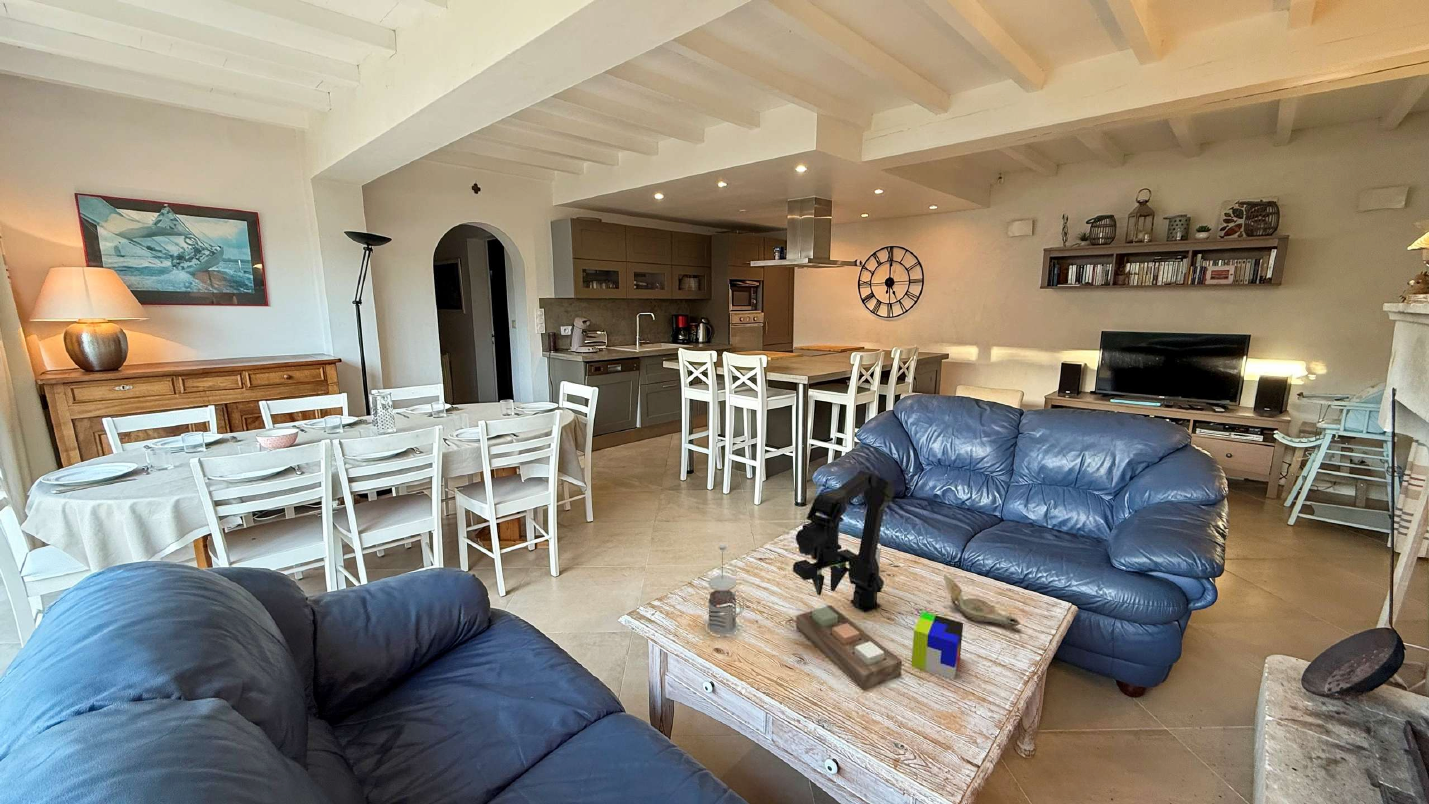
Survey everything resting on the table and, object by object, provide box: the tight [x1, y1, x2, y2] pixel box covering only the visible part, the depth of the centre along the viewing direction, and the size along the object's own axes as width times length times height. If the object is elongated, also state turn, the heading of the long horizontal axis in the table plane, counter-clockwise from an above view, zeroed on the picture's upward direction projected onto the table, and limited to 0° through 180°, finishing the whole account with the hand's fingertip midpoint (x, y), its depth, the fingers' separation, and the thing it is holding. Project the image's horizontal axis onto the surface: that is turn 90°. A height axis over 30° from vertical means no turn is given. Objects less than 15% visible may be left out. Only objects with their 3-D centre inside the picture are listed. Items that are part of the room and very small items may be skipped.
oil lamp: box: [943, 574, 1020, 628], centre depth 161 cm, size 9×21×10 cm, turn 47°
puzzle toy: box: [911, 611, 964, 681], centre depth 141 cm, size 10×10×10 cm
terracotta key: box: [832, 623, 860, 646], centre depth 146 cm, size 5×5×3 cm
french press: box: [706, 544, 745, 636], centre depth 155 cm, size 10×12×25 cm
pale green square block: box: [811, 606, 838, 628], centre depth 154 cm, size 5×5×3 cm
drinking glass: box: [876, 542, 882, 566], centre depth 188 cm, size 7×7×10 cm
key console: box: [795, 605, 903, 691], centre depth 147 cm, size 12×28×4 cm, turn 26°
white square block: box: [854, 641, 884, 666], centre depth 138 cm, size 5×5×3 cm
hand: (825, 592), depth 153 cm, fingers open, 4 cm apart
